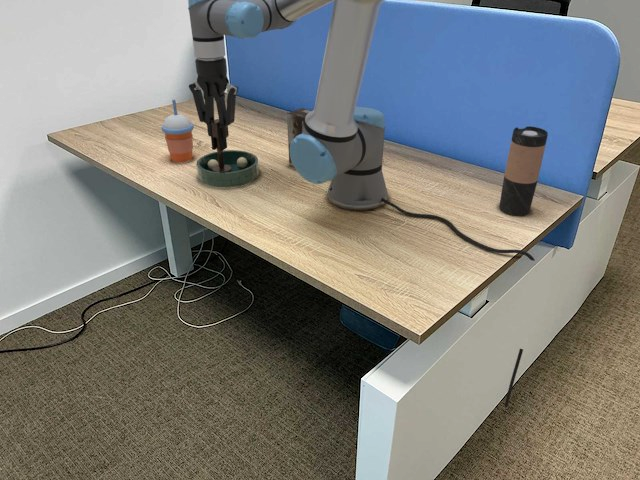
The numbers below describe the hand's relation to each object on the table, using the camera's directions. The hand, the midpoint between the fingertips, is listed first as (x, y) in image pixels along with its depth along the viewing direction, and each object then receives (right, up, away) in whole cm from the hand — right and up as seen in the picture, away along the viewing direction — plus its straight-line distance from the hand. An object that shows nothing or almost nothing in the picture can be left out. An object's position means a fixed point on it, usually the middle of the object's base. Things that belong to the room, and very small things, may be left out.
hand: (219, 148), depth 141 cm
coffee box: (+23, -4, +12) cm, 26 cm away
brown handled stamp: (0, -7, +4) cm, 8 cm away
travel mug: (+75, -17, -11) cm, 78 cm away
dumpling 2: (+5, -4, +10) cm, 12 cm away
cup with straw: (-15, -1, +17) cm, 22 cm away
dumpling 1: (-3, -5, +9) cm, 10 cm away
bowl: (+1, -7, +6) cm, 9 cm away
